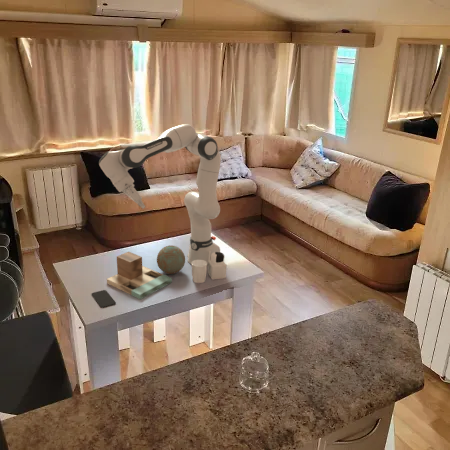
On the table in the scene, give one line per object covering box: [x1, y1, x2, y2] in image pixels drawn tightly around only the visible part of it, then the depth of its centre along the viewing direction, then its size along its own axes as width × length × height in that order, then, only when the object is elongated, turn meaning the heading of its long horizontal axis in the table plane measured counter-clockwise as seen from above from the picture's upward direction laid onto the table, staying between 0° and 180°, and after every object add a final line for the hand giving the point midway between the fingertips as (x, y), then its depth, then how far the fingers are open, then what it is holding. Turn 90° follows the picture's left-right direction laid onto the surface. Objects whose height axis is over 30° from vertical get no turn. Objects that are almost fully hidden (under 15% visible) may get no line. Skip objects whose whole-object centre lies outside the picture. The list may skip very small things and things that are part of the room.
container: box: [207, 251, 227, 281], centre depth 245 cm, size 8×8×13 cm
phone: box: [91, 289, 117, 309], centre depth 222 cm, size 7×1×15 cm
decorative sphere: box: [156, 245, 186, 275], centre depth 247 cm, size 15×15×15 cm
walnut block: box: [116, 251, 143, 280], centre depth 238 cm, size 8×10×10 cm
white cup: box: [191, 260, 208, 284], centre depth 241 cm, size 8×8×10 cm
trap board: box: [106, 265, 173, 300], centre depth 237 cm, size 22×24×2 cm
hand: (142, 206), depth 223 cm, fingers open, 8 cm apart
